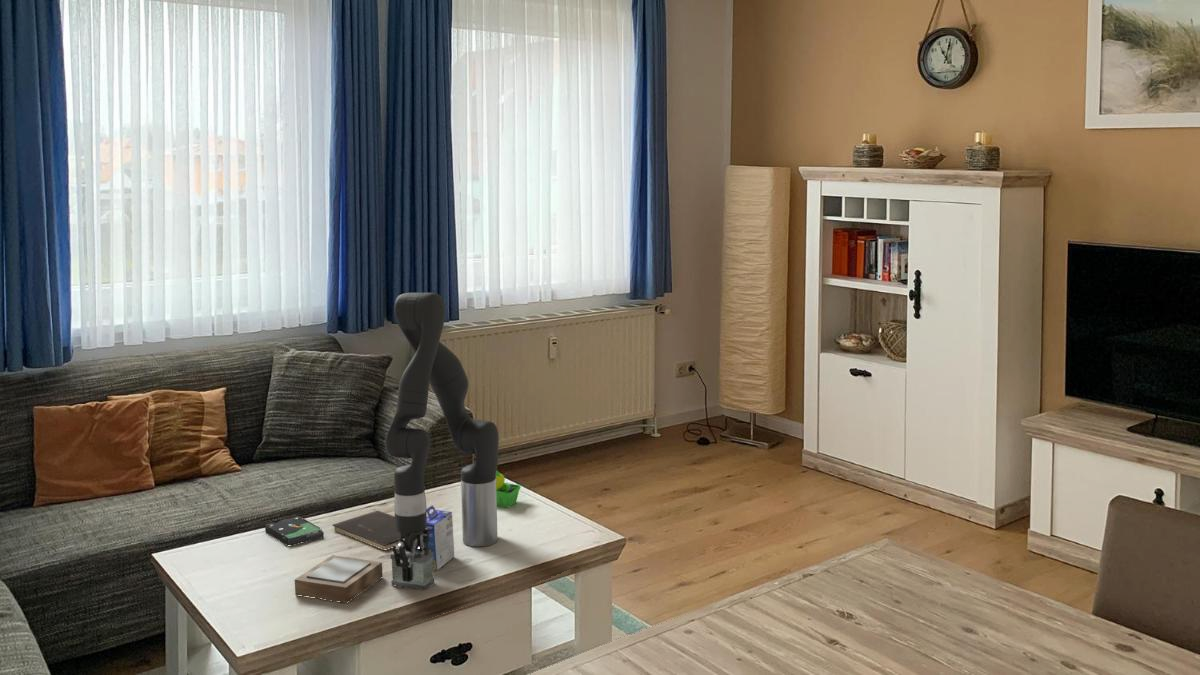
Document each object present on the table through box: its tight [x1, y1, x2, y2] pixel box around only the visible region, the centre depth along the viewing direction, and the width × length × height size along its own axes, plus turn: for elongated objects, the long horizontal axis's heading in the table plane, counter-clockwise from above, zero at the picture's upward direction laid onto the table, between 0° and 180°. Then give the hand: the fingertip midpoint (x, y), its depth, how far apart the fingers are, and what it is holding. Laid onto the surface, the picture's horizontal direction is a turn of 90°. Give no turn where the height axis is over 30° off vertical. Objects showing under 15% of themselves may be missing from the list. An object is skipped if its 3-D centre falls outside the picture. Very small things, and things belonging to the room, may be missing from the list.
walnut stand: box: [294, 554, 384, 604], centre depth 260 cm, size 16×14×4 cm
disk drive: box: [264, 515, 324, 546], centre depth 295 cm, size 10×3×15 cm
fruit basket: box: [496, 470, 522, 508], centre depth 318 cm, size 11×9×11 cm
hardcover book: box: [331, 510, 400, 550], centre depth 296 cm, size 16×23×2 cm
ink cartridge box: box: [423, 505, 455, 571], centre depth 274 cm, size 10×6×14 cm, turn 161°
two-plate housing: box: [389, 550, 435, 591], centre depth 261 cm, size 5×9×8 cm, turn 71°
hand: (412, 576), depth 261 cm, fingers closed on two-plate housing, 4 cm apart
